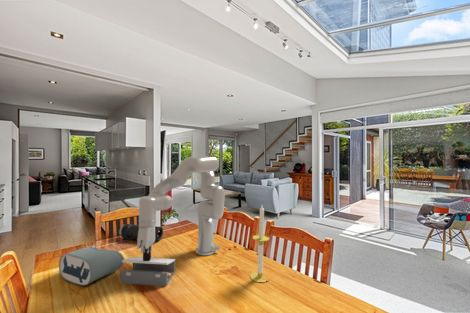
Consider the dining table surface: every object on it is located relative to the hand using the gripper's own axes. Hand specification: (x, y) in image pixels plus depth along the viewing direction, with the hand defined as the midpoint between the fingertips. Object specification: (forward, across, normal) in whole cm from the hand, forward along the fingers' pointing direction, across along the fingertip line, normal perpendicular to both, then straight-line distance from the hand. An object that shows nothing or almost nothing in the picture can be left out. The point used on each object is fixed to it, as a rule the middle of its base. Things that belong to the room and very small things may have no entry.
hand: (146, 260), depth 109 cm
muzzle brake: (+10, -48, -26) cm, 55 cm away
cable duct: (+10, -3, 0) cm, 11 cm away
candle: (+10, -9, +55) cm, 57 cm away
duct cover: (+2, -3, 0) cm, 4 cm away
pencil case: (+10, -3, -29) cm, 31 cm away
